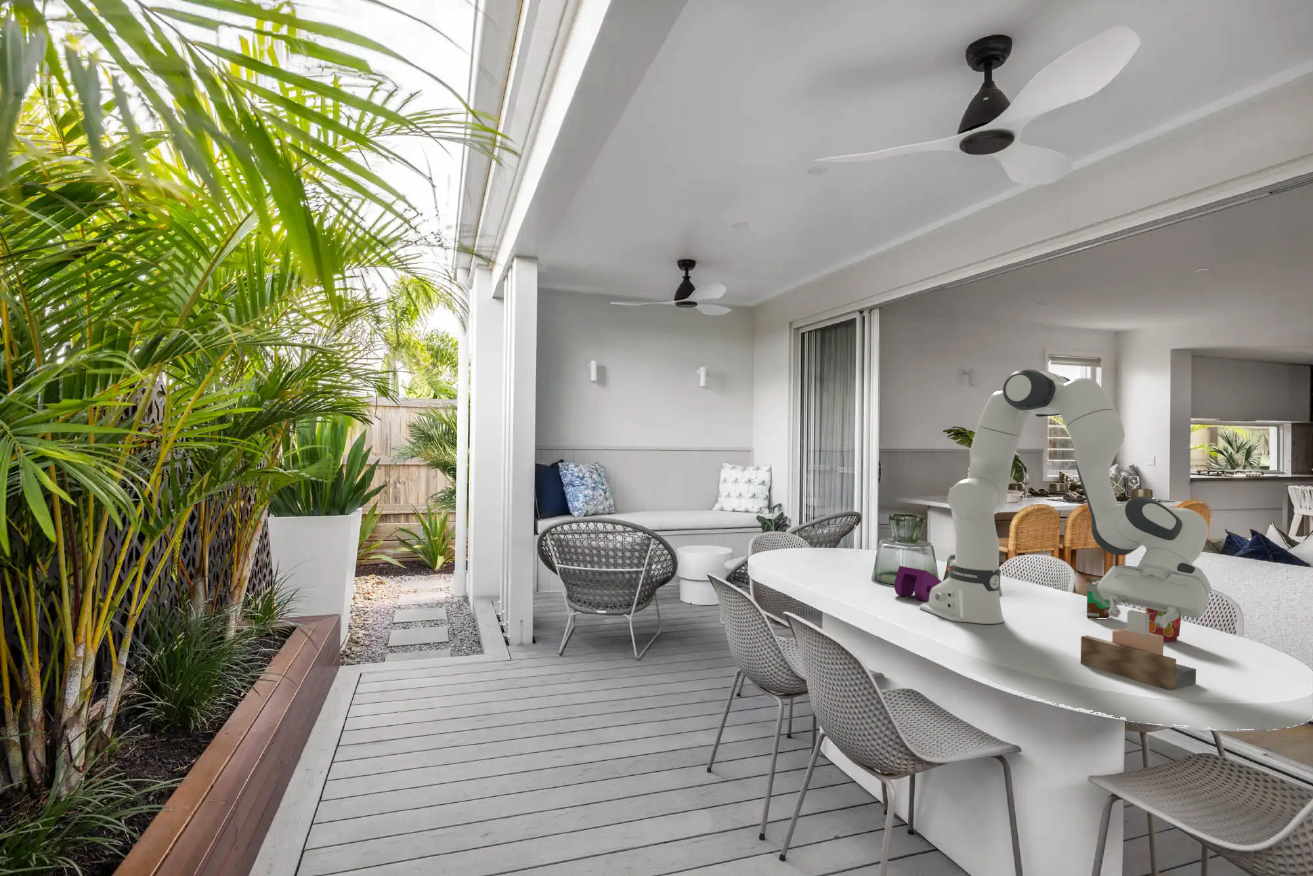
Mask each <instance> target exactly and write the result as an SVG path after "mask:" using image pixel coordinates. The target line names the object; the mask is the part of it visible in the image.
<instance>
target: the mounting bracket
mask: <svg viewBox="0 0 1313 876" xmlns="http://www.w3.org/2000/svg"><path fill="white" fill-rule="evenodd" d="M941 582H942V580H941V579H939V578H938V577H936V576H934V575H933V574H931V573H930V572H929V571H928V570H924V569H919V568H913V567H907V566H902V565H899V566H898V569H897V572H896V576H895V579H894V591H895V593H896V594H897V596H899V597H904V598H909V597H912V595H913V594H914V595H915V598H916V599H917V600H918V601H921V602H924V603H927V602H929V595H930V591H931V589H932V588H933V587H934V586H936V585H938V584H939V583H941Z"/></svg>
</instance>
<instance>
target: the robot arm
mask: <svg viewBox="0 0 1313 876" xmlns="http://www.w3.org/2000/svg"><path fill="white" fill-rule="evenodd" d="M983 408H984V409H983V410H982V413H981V415H980V418H979V420H978V424H977V426H976V430H975V433H974V436H973V439H972V442H971V446H970V449H969V469H968V475H967V478H965V479H961V480H959V481H958V482H956V483H955V484H954V485H953V486H952V487H951V488H950V490H949V491H948V493H947V504H948V507H949V508H950V511H951V517H952V523H953V524H952V525H953V529H954V534H955V535H954V537H955V548H954V549H955V551H954V553H955V555H954V564H953V565H951V566H946V571H947V572H950V573H949V576H948V577H947V578H946V579H944V580H943V581H942V580H941V581H942V582H941V583H939V584H938V585H936V586H934V587H933V588H932V589H931V591H930V595H929V601H927V602H923V603H921V604H920V605H919V609H920V610H922V611H923V610H924V611H926V612H929V613H931V614H933V615H936V616H939V617H941V618H944V619H946V620H948V621H952V622H961V623H962V622H965V623H971V624H988V625H990V624H991V625H993V624H995V625H996V624H1002V623H1004V622H1005V618H1004V615H1003V611H1002V606H1001V598H1000V584H1001V569H1000V567H999V565H1000V563H999V561H1000V539H999V537H998V533H997V528H996V523H995V522H996V521H995V515H996V514H997V513H999V512H1000V511H1001V510H1002V509H1004V508H1003V507H1005V505H1006V503H1007V502H1008V501H1007V500H1008V491H1009V486H1010V482H1011V481H1010V480H1011V473H1012V467H1013V462H1014V459H1015V456H1016V453H1017V449H1018V446H1019V444H1020V441H1021V437H1022V433H1023V429H1024V426H1025V424H1026V422H1027V420H1028V419H1030V417H1032V416H1036V417H1038V418H1040V417H1054V416H1055V417H1056V416H1057V417H1058V416H1060V417H1061V418H1062V420H1063V423H1064V425H1065V427H1066V429H1067V432H1068V433H1069V434H1068V435H1069V436H1070V439H1071V442H1072V446H1073V451H1074V456H1075V466H1076V471H1077V475H1078V479H1079V481H1080V485H1081V488H1082V491H1083V494H1084V497H1085V498H1084V499H1085V500H1086V503H1087V506H1088V509H1089V513H1090V520H1091V534H1092V537H1093V540H1094V541H1095V542H1096V544H1097V545H1098V546H1099V547H1100V548H1101V549H1103V550H1104V551H1106V552H1107V553H1109V554H1113V555H1116V556H1126V555H1130V554H1131V553H1133V552H1135V550H1137V549H1138V548H1140V547H1141V546H1143V547H1145V548H1146V549H1145V552H1144V554H1143V556H1142V557H1141V559H1140V561H1139V562H1138V564H1137V566H1132V565H1125V564H1118V565H1114V566H1111V567H1110V568H1109V570H1108V571H1106V573H1105V574H1104V576H1102V578H1100V579H1101V581H1100V582H1099V584H1098V585H1097V589H1098V591H1099V593H1100V594H1101V596H1102V597H1103V598H1104V599H1107V600H1110V605H1111V606H1110V609H1109V610H1108V613H1109V617H1114V618H1119V616H1120V615H1121V613H1122V611H1121V610H1120V608H1119V607H1118V606H1120V605H1121V604H1126V605H1130V606H1137V607H1141V608H1149V609H1154V610H1159V611H1163V612H1168V613H1166V614H1165V615H1163V616H1162V617H1161V616H1157V618H1156V620H1155V625H1156V626H1157V627H1160V628H1164V629H1165V628H1166V626H1167V624H1168V623H1170V622H1172V621H1174V620H1176V619H1177V618H1178V617H1179V615H1181V617H1182V616H1183V617H1188V618H1192V619H1198V618H1201V617H1202V616H1204V614H1205V613H1206V609H1207V607H1208V604H1209V601H1210V600H1209V599H1210V595H1209V594H1210V593H1211V591H1212V586H1211V584H1210V582H1209V579H1208V578H1207V575H1206V574H1205V573H1204V571H1203V570H1202V569H1201V568H1200V567H1198V566H1196V565H1194V562H1195V561H1196V560H1198V558H1199V557H1200V555H1201V553H1202V552H1203V549H1204V548H1205V545H1206V543H1207V539H1208V536H1209V525H1208V522H1207V520H1206V519H1205V518H1204V517H1203V516H1202V515H1201V514H1199V513H1198V512H1196V511H1195V510H1192V509H1189V508H1185V507H1171V506H1167V505H1164V504H1163V503H1161V502H1159V501H1157V500H1156V499H1154V498H1151V497H1149V496H1135V497H1133V498H1130V499H1128V500H1126V501H1125V502H1124V503H1122V504H1120V505H1119V503H1118V500H1117V497H1116V494H1115V491H1114V488H1113V485H1112V483H1111V478H1110V477H1111V476H1110V475H1111V473H1110V472H1111V468H1112V464H1113V462H1114V459H1115V457H1116V455H1117V453H1118V452H1119V451H1120V449H1121V448H1122V445H1123V444H1124V441H1125V437H1126V435H1125V428H1124V425H1123V422H1122V419H1121V417H1120V416H1119V413H1118V412H1117V410H1116V407H1115V406H1114V404H1113V403H1112V401H1111V399H1110V397H1109V396H1108V394H1107V393H1106V391H1105V390H1104V389H1103V388H1102V386H1101V385H1100V384H1099V383H1098V382H1097V381H1096V380H1095V379H1092V378H1089V377H1078V378H1074V379H1072V380H1070V379H1069V378H1067V377H1065V376H1063V375H1058V374H1056V373H1053V372H1051V371H1042V370H1041V371H1040V370H1036V369H1030V368H1029V369H1027V368H1026V369H1020V370H1017V371H1016V370H1015V371H1014V372H1012V373H1010V374H1009V375H1008V377H1007V378H1006V379H1005V380H1004V383H1003V387H1002V390H997V391H995V392H993V393H992V394H991V395H990V396H989V398H988V400H987V402H986V404H985V406H984V407H983Z"/></svg>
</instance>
